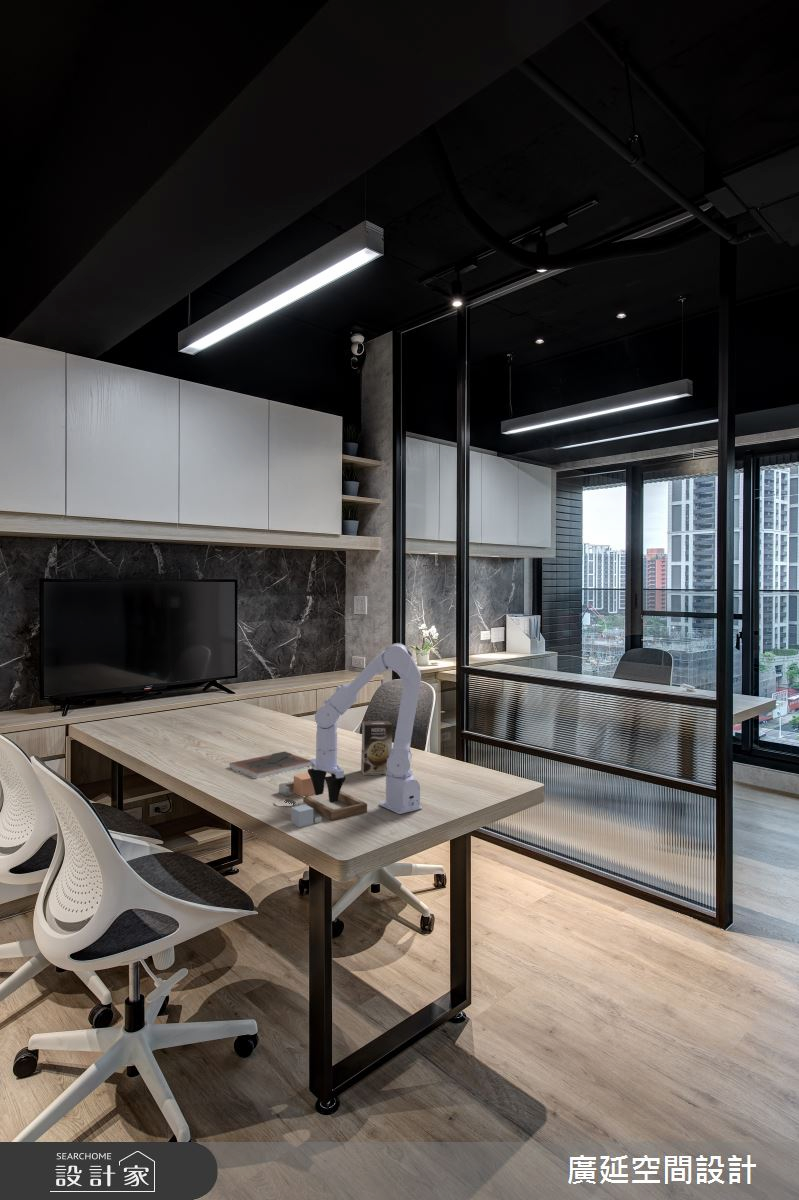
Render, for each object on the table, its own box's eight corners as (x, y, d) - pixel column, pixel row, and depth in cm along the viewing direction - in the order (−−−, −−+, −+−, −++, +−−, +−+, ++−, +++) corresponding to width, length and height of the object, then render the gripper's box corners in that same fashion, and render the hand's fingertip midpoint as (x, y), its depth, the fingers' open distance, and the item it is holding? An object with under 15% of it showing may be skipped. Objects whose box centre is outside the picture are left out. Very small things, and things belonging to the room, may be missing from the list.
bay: (367, 811, 173) (367, 803, 173) (331, 820, 166) (331, 811, 166) (337, 797, 184) (337, 789, 184) (303, 804, 178) (303, 796, 178)
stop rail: (323, 789, 192) (323, 781, 192) (286, 796, 184) (286, 788, 184) (315, 785, 195) (315, 777, 195) (278, 792, 188) (279, 784, 188)
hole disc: (299, 804, 178) (299, 803, 178) (279, 808, 174) (279, 808, 174) (289, 798, 183) (289, 797, 183) (269, 802, 179) (269, 802, 179)
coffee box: (363, 775, 206) (364, 724, 205) (360, 770, 212) (361, 720, 212) (392, 774, 208) (392, 724, 207) (388, 769, 214) (389, 719, 214)
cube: (317, 794, 187) (317, 776, 187) (302, 797, 184) (302, 779, 184) (308, 789, 191) (309, 772, 191) (293, 792, 188) (293, 775, 188)
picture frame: (284, 758, 228) (229, 769, 213) (284, 751, 228) (229, 762, 213) (313, 768, 216) (257, 781, 201) (313, 760, 216) (257, 773, 201)
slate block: (313, 824, 164) (313, 808, 163) (299, 827, 161) (299, 811, 161) (305, 819, 167) (305, 804, 167) (291, 823, 164) (291, 807, 164)
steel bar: (321, 823, 165) (321, 816, 165) (314, 824, 164) (314, 817, 164) (304, 809, 175) (304, 802, 175) (297, 810, 174) (298, 803, 174)
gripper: (300, 745, 182) (300, 793, 182) (327, 756, 170) (327, 808, 171) (322, 741, 186) (322, 789, 186) (350, 752, 175) (350, 803, 175)
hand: (326, 798), depth 179 cm, fingers open, 7 cm apart
